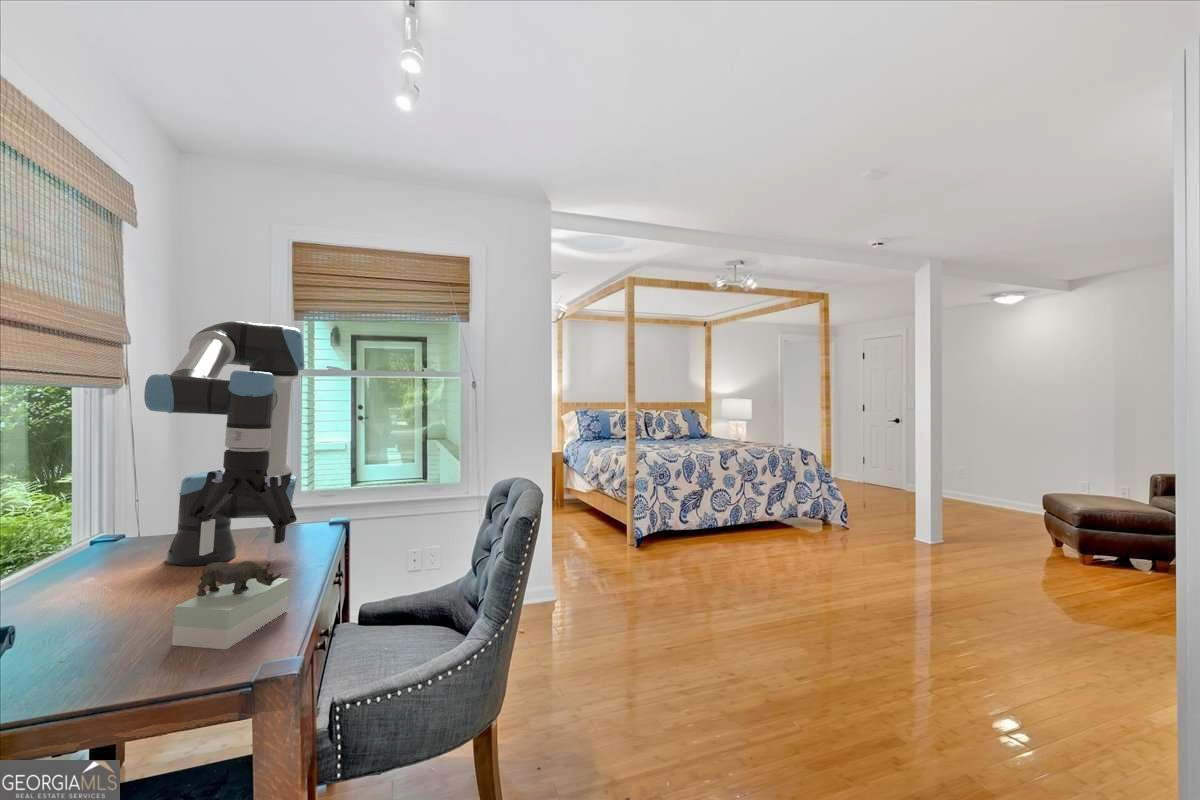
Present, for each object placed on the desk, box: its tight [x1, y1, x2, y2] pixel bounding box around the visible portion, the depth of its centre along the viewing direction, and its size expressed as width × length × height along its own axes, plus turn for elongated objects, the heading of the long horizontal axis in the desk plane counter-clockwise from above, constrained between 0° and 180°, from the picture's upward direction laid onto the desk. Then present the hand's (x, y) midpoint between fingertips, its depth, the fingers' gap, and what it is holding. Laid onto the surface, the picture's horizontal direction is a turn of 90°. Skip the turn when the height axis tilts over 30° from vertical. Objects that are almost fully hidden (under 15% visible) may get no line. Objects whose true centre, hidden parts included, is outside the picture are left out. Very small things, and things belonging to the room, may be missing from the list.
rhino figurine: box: [196, 560, 282, 596], centre depth 106 cm, size 4×14×6 cm, turn 112°
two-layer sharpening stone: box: [171, 577, 290, 650], centre depth 106 cm, size 18×10×7 cm, turn 178°
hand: (239, 556), depth 107 cm, fingers open, 13 cm apart
